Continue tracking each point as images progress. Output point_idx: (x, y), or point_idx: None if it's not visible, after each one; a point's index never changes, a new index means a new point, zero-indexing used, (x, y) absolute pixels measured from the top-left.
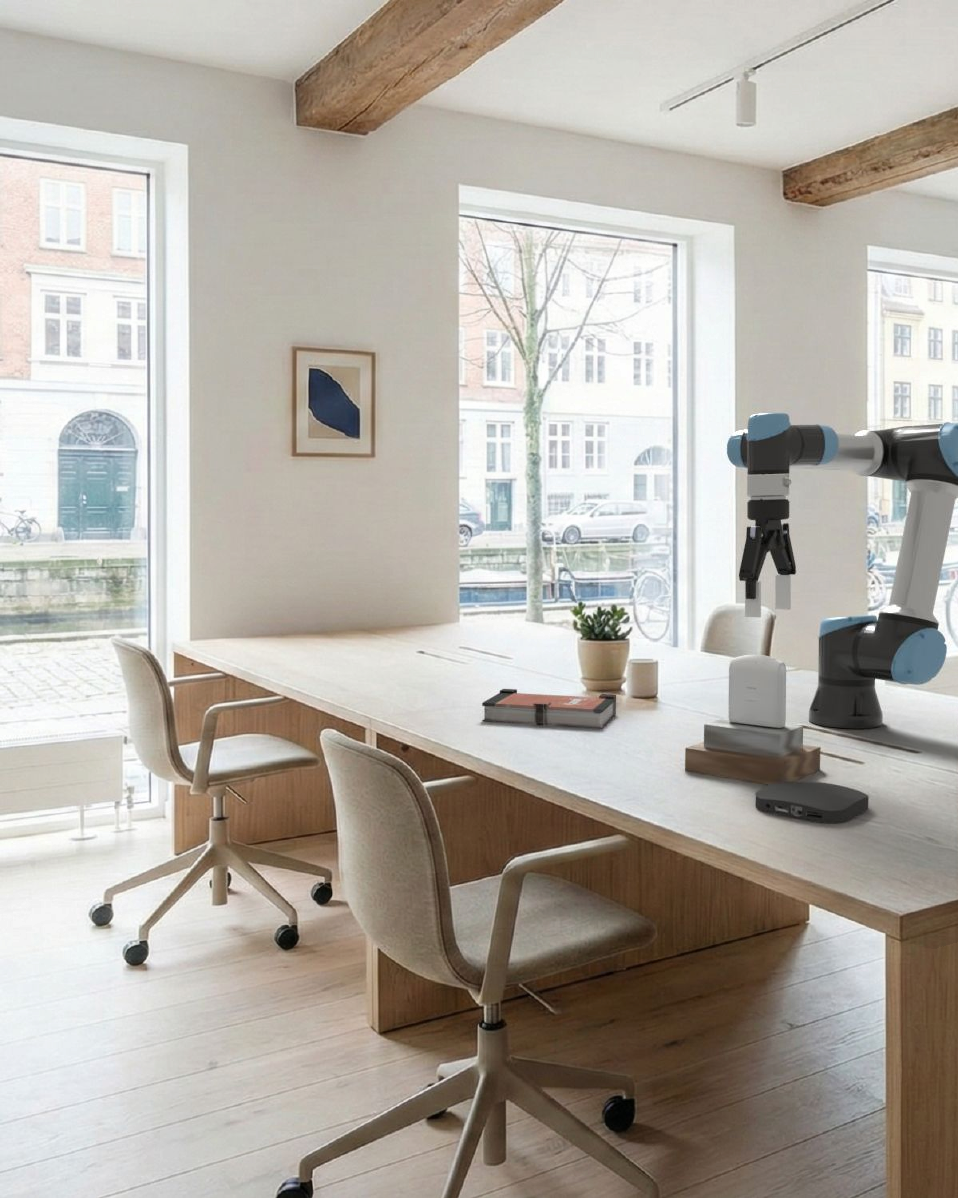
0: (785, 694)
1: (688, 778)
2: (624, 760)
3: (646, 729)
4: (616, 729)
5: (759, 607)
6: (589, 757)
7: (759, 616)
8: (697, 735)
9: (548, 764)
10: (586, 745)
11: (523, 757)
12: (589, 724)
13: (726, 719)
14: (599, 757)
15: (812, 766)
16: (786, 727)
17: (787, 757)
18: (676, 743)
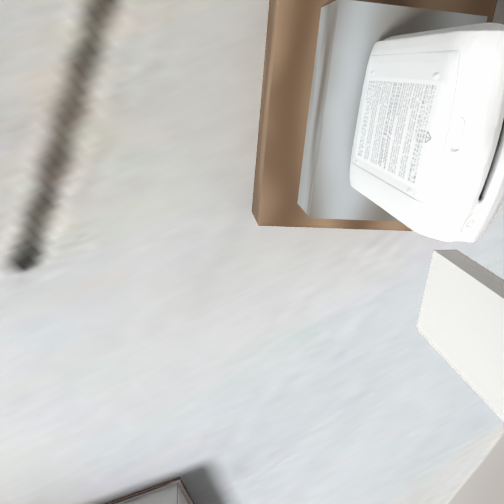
0: (431, 31)
1: None
2: (393, 330)
3: (129, 426)
4: (167, 459)
5: (490, 275)
6: (399, 379)
7: (456, 251)
8: (112, 336)
9: (470, 395)
10: (320, 426)
11: (444, 441)
12: (185, 499)
13: (355, 207)
14: (392, 368)
15: None
16: (384, 34)
17: (438, 5)
18: (212, 331)
